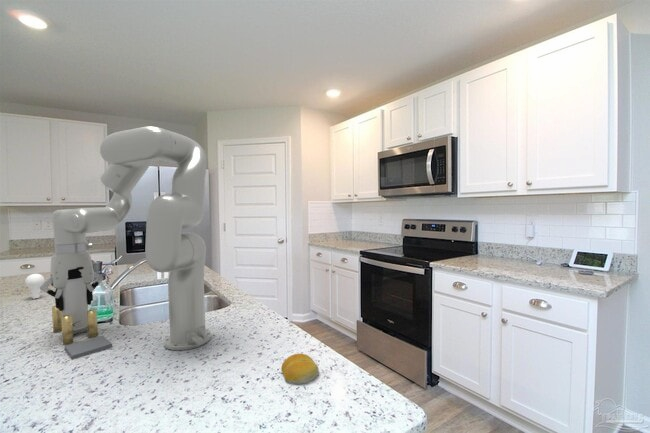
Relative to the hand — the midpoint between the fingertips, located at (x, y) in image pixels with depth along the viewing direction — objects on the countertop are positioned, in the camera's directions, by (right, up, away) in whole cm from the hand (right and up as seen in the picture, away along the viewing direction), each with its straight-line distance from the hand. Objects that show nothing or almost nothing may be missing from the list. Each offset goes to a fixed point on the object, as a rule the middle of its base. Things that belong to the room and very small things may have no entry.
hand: (75, 306), depth 98 cm
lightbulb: (-47, -8, +38) cm, 61 cm away
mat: (+11, -9, -10) cm, 17 cm away
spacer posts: (0, -9, 0) cm, 9 cm away
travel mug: (0, -8, 0) cm, 8 cm away
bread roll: (+72, -9, -24) cm, 76 cm away
